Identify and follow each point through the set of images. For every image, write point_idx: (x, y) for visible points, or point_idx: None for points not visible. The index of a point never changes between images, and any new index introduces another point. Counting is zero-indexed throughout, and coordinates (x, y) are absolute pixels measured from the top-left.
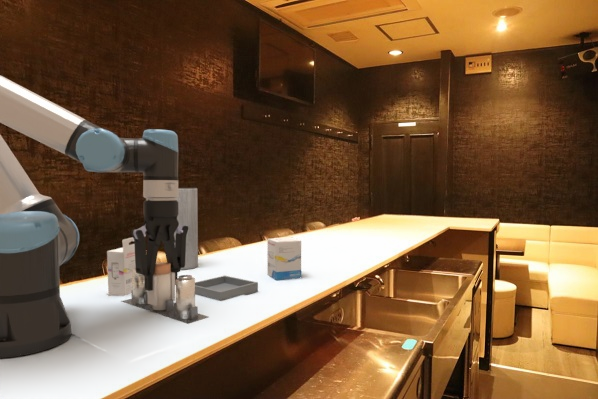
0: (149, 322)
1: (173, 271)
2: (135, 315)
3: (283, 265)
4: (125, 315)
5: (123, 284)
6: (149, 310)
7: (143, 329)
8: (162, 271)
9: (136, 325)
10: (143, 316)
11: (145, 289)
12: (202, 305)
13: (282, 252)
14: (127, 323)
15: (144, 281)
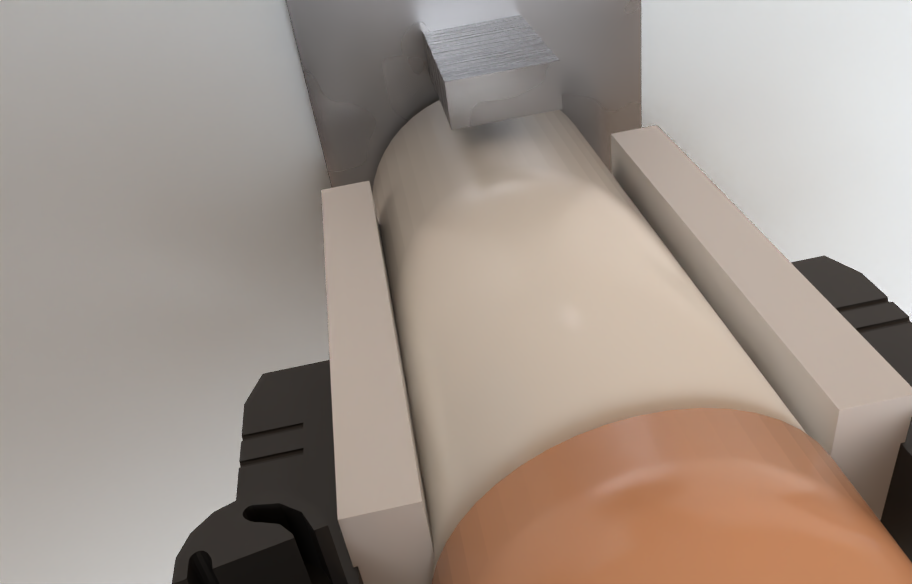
0: (220, 447)
1: (898, 542)
2: (148, 171)
3: None
4: (25, 91)
5: None
6: (334, 175)
7: (123, 559)
8: None
9: (88, 459)
10: (223, 260)
11: (261, 389)
12: (873, 274)
13: None
14: (11, 372)
15: (237, 494)
